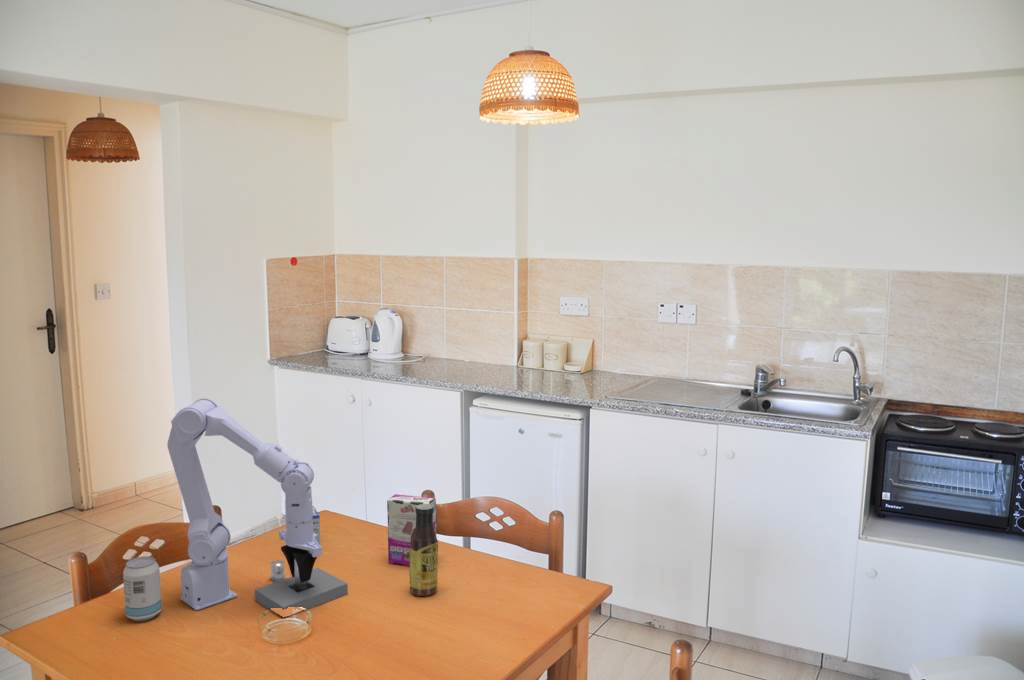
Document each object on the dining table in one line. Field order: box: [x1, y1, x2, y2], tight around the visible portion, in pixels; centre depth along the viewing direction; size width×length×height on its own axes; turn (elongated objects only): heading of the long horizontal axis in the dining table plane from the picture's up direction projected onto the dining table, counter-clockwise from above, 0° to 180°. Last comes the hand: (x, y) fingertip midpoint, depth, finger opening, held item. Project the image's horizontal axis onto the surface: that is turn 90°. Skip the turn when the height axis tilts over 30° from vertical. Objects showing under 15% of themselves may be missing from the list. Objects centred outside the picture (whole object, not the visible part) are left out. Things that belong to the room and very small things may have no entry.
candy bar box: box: [386, 493, 437, 567], centre depth 195 cm, size 11×5×16 cm, turn 73°
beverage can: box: [122, 555, 163, 622], centre depth 168 cm, size 7×7×12 cm
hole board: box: [254, 567, 349, 610], centre depth 178 cm, size 16×12×2 cm
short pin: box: [270, 559, 286, 583], centre depth 187 cm, size 3×3×4 cm
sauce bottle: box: [409, 504, 439, 597], centre depth 180 cm, size 6×6×20 cm
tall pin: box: [294, 558, 309, 593], centre depth 177 cm, size 3×3×9 cm
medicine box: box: [312, 505, 321, 546], centre depth 208 cm, size 8×4×9 cm, turn 25°
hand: (301, 578), depth 177 cm, fingers closed on tall pin, 3 cm apart
